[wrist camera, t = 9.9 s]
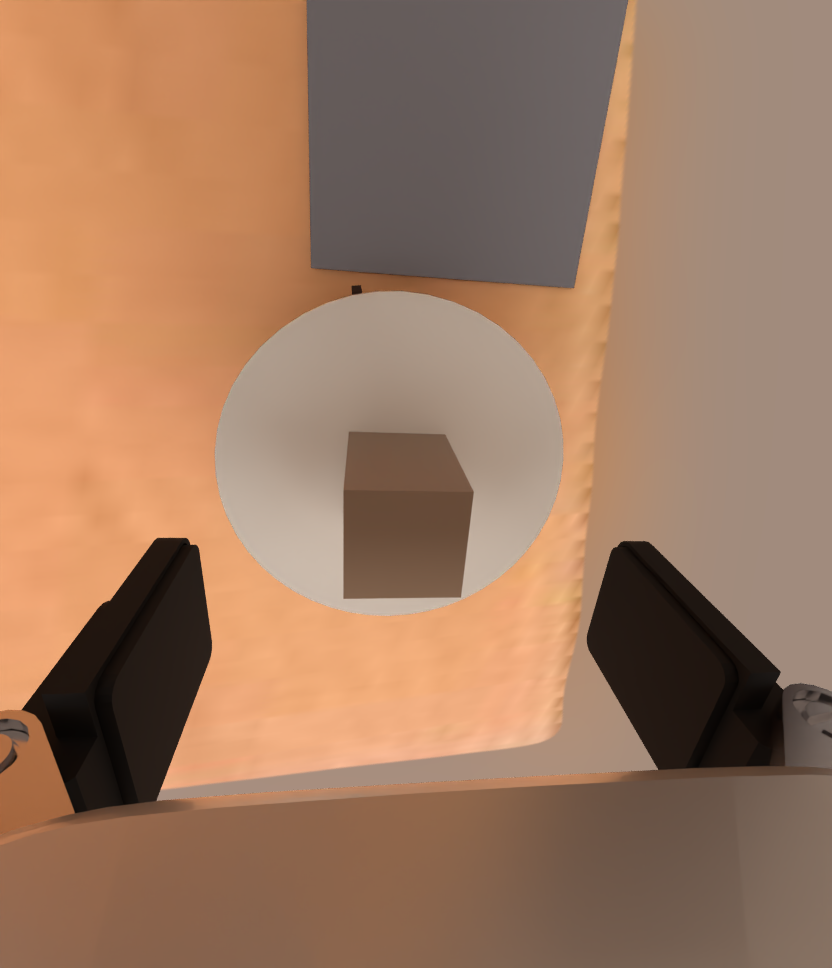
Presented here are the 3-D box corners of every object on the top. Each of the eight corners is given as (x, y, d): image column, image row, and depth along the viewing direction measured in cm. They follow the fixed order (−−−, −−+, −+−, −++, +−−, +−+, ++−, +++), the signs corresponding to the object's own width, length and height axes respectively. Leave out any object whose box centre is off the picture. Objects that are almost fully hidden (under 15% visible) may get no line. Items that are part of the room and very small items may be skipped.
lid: (202, 278, 16) (116, 282, 10) (583, 302, 17) (687, 317, 12) (238, 603, 21) (193, 721, 15) (526, 599, 22) (579, 706, 17)
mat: (306, -116, 19) (304, -126, 19) (634, -60, 21) (640, -68, 20) (311, 268, 25) (311, 268, 24) (570, 287, 26) (574, 288, 26)
